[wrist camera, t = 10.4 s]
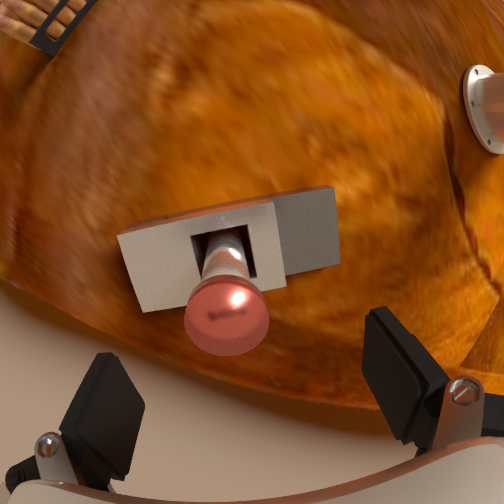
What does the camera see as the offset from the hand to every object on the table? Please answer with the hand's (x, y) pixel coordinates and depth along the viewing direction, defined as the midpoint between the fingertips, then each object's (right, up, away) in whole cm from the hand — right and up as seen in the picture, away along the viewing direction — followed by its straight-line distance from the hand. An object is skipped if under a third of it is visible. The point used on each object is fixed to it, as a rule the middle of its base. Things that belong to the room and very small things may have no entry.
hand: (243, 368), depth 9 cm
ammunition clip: (-18, +29, +7) cm, 35 cm away
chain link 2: (+1, +6, +16) cm, 17 cm away
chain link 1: (-4, +5, +16) cm, 17 cm away
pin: (-2, +5, +16) cm, 17 cm away
